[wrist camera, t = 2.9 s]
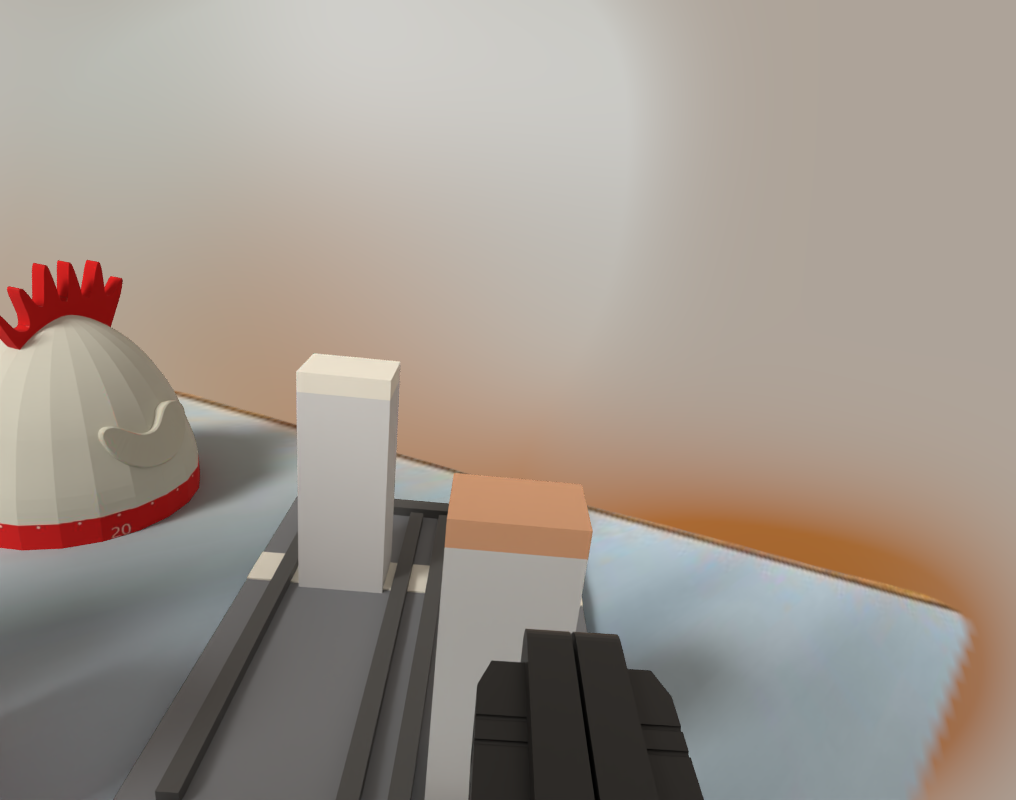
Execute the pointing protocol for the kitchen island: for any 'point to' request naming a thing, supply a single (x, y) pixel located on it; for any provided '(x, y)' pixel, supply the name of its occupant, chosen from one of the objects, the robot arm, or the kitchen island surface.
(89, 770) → the kitchen island surface
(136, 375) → the kitchen timer
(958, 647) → the kitchen island surface
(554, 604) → the fader tab
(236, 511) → the kitchen island surface
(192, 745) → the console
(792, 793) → the kitchen island surface
